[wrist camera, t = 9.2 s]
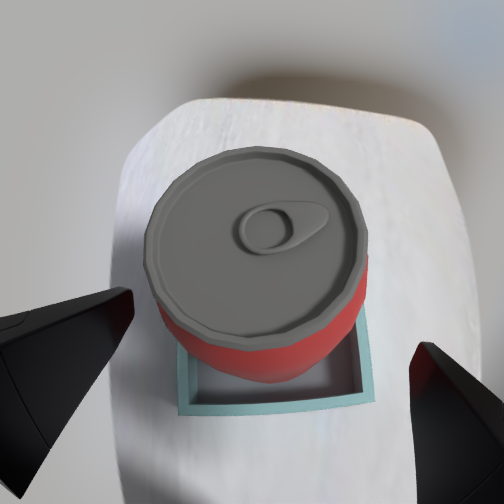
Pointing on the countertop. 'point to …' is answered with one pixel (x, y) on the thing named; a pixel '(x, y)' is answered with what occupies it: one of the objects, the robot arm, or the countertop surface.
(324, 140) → the countertop surface
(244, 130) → the countertop surface
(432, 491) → the robot arm
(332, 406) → the tray
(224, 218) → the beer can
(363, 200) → the countertop surface
